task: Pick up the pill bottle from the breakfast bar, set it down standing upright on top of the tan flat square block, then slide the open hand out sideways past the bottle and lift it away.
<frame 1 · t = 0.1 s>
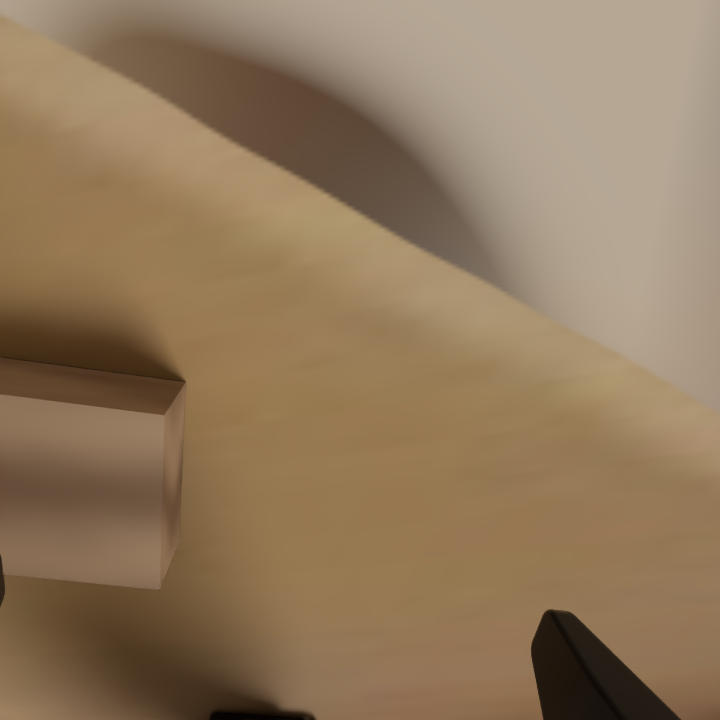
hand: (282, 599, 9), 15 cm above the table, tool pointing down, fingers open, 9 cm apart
tan flat square block: (83, 456, 25), on the table
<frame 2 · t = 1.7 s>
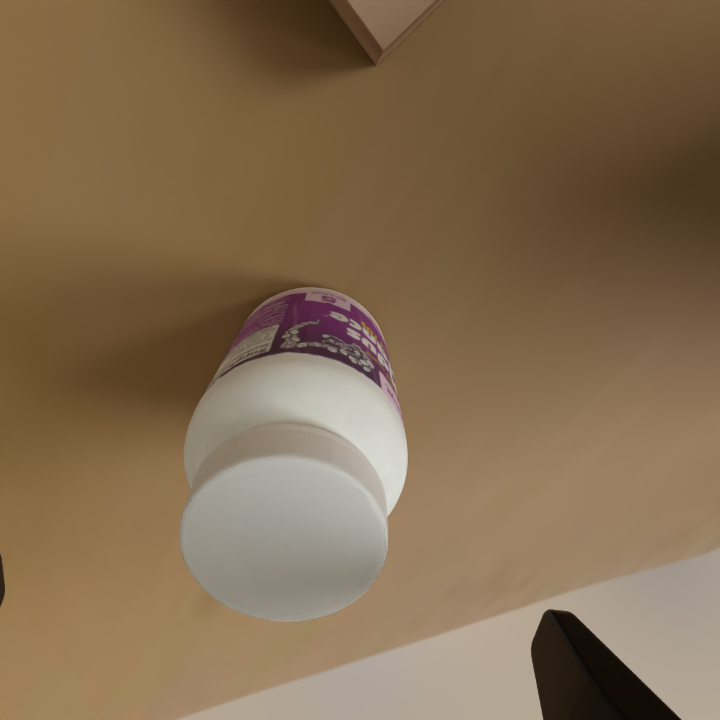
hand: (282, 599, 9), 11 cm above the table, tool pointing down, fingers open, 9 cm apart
pill bottle: (313, 353, 19), on the table
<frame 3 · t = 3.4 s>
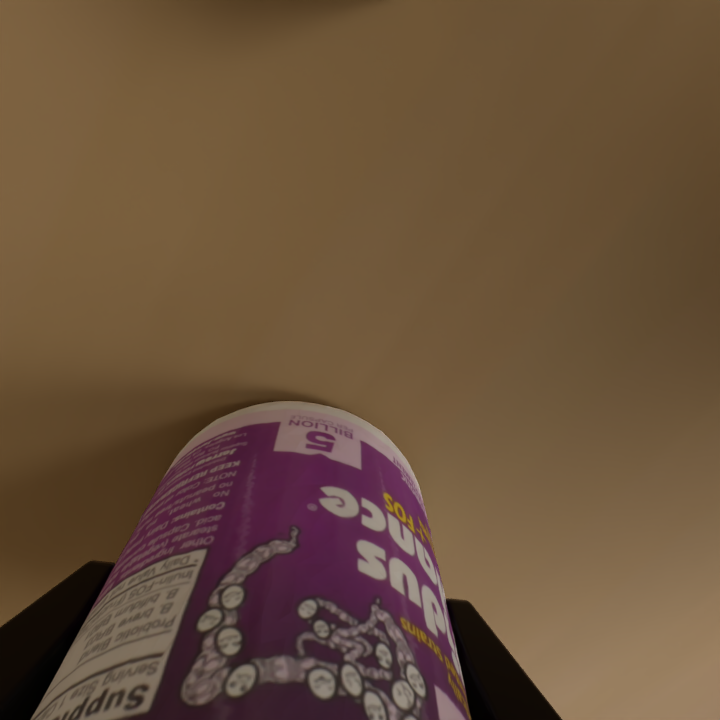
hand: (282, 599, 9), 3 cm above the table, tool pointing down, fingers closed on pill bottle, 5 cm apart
pill bottle: (296, 497, 11), on the table, touching gripper
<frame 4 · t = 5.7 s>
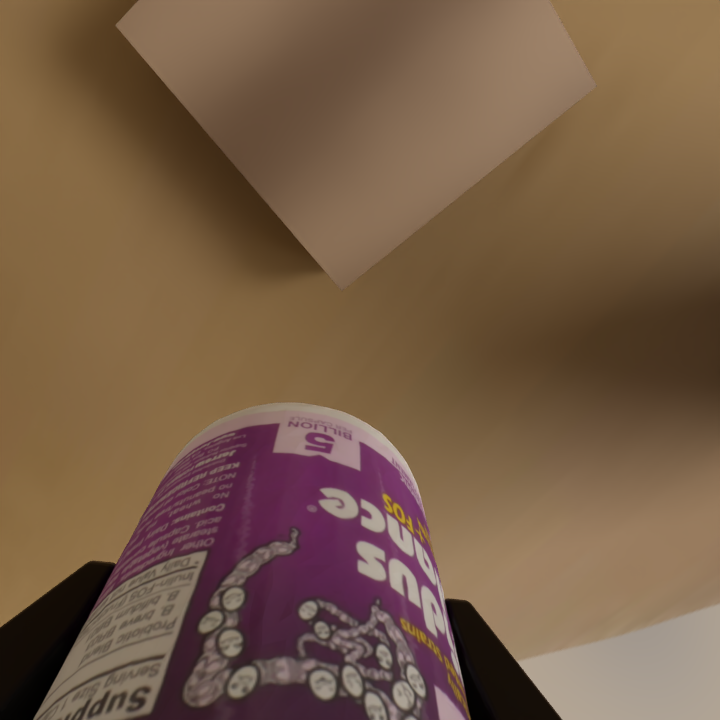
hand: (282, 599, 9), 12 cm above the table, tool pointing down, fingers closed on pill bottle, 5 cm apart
pill bottle: (295, 498, 11), point 10 cm above the table, touching gripper
tan flat square block: (360, 69, 17), on the table
when the fingers open (7 cm above the table, at t = 8.2 s): pill bottle drops 1 cm, resting on tan flat square block.
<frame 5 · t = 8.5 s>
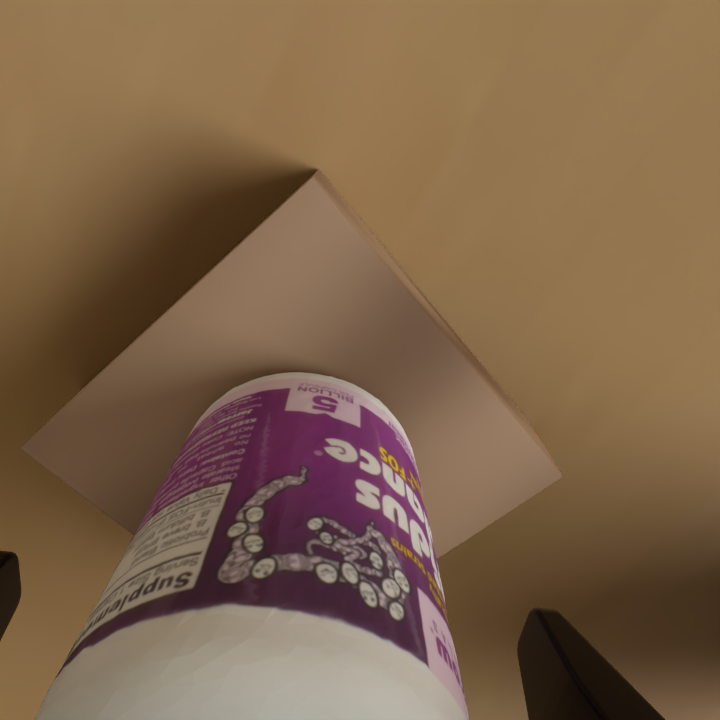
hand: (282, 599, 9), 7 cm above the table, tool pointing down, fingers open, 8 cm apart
pill bottle: (303, 460, 13), point 3 cm above the table, touching tan flat square block
tan flat square block: (307, 403, 15), on the table
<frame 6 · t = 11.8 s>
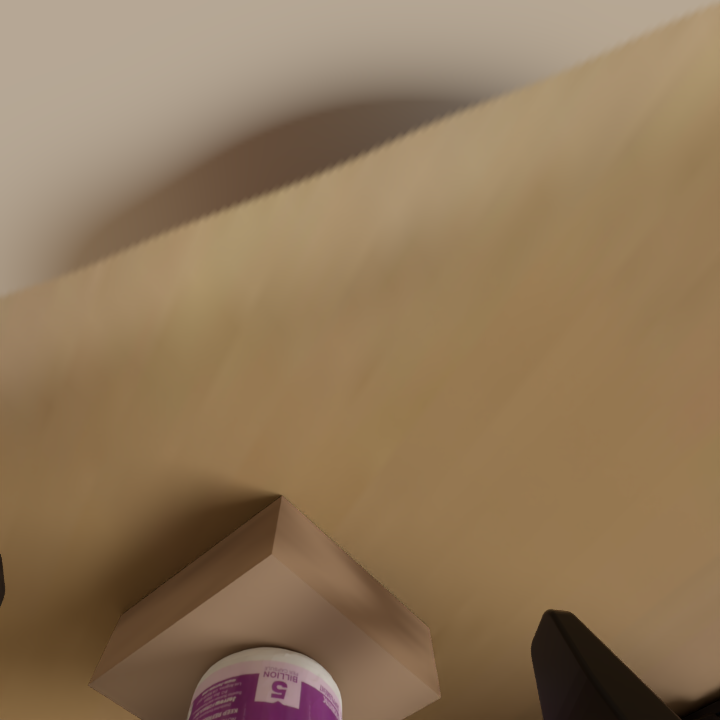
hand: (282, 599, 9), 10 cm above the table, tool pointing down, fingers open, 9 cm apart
pill bottle: (270, 687, 19), point 3 cm above the table, touching tan flat square block
tan flat square block: (277, 622, 22), on the table
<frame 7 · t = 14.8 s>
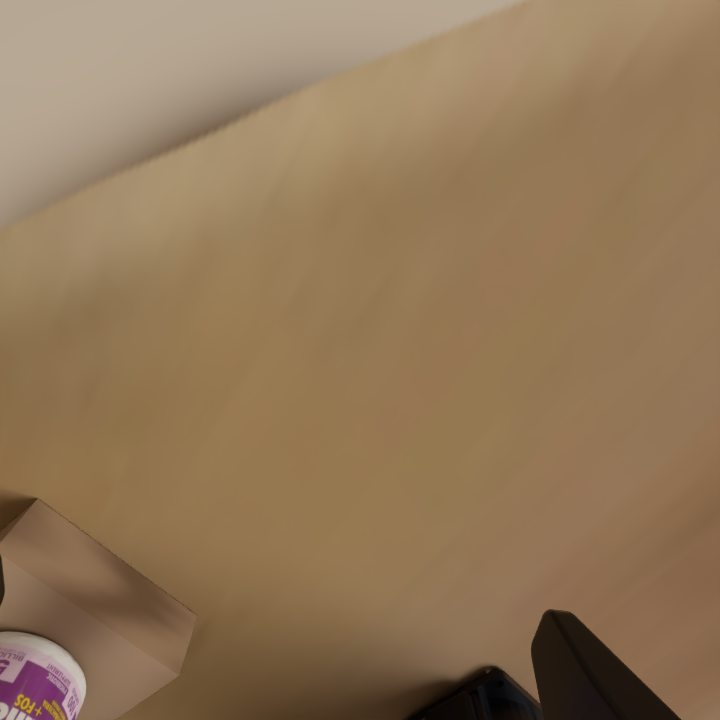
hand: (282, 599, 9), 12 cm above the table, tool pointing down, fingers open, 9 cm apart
pill bottle: (27, 667, 22), point 3 cm above the table, touching tan flat square block
tan flat square block: (58, 611, 25), on the table
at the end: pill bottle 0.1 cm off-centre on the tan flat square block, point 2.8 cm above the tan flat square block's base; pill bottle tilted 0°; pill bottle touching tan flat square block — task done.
